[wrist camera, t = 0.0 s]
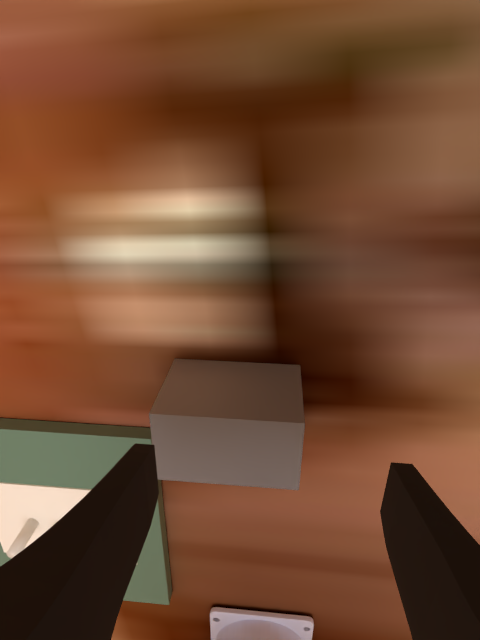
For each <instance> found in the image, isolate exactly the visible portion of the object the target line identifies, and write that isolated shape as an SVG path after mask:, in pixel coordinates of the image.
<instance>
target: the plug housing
mask: <svg viewBox="0 0 480 640" xmlns="http://www.w3.org/2000/svg"><path fill="white" fill-rule="evenodd" d="M149 419H150V428H151V437H152V445H154V446H155V457H156V467H157V477H158V480H171V481H184V482H197V483H210V484H224V485H237V486H250V487H263V488H276V489H289V490H299V483H300V472H301V461H302V450H303V439H304V428H305V419H304V406H303V394H302V382H301V369H300V365H290V364H271V363H251V362H232V361H212V360H193V359H174V361H173V363H172V365H171V368H170V370H169V372H168V374H167V376H166V378H165V380H164V383H163V385H162V387H161V389H160V391H159V393H158V395H157V398H156V400H155V402H154V404H153V406H152V408H151V410H150V412H149Z"/></svg>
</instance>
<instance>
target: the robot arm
mask: <svg viewBox="0 0 480 640" xmlns="http://www.w3.org/2000/svg"><path fill="white" fill-rule="evenodd" d="M158 495H159V487H158V477H157V467H156V457H155V446H154V445H150V444H137V443H135V444H134V445H133V446H132V447H131V448H130V449H129V450H128V451H127V452H126V453H125V455H124V456H123V457H122V458H121V459H120V460H119V461H118V462H117V463H116V464H115V466H114V467H113V468H112V469H111V470H110V471H109V472H108V473H107V474H106V475H105V476H104V477H103V478H102V479H101V480H100V481H99V482H98V483H97V484H96V485H95V486H94V487H93V488H92V490H91V491H90V492H89V493H88V494H87V495H86V496H85V497H84V498H82V499H81V500H80V501H79V502H78V503H77V504H76V505H75V506H74V507H73V508H72V509H71V510H70V511H69V512H68V513H66V514H65V515H64V516H63V517H62V518H61V519H60V520H59V521H58V522H57V523H55V524H54V525H53V526H52V527H51V528H50V529H48V530H47V531H46V532H45V533H44V534H42V535H41V536H40V537H39V538H37V539H36V540H35V541H34V542H33V543H31V544H30V545H29V546H27V547H26V548H25V549H24V550H22V551H21V552H20V553H18V554H17V555H16V556H14V557H13V558H12V559H10V560H9V561H7V562H6V563H5V564H3V565H2V566H0V640H111V637H112V634H113V630H114V626H115V623H116V619H117V616H118V613H119V610H120V607H121V604H122V601H123V599H124V596H125V593H126V591H127V588H128V585H129V583H130V580H131V577H132V575H133V572H134V570H135V567H136V564H137V562H138V559H139V556H140V554H141V551H142V548H143V546H144V543H145V540H146V537H147V535H148V532H149V529H150V527H151V523H152V519H153V515H154V512H155V508H156V503H157V499H158ZM380 513H381V519H382V526H383V532H384V537H385V543H386V548H387V551H388V555H389V559H390V562H391V566H392V569H393V573H394V576H395V580H396V583H397V586H398V590H399V593H400V597H401V600H402V603H403V607H404V610H405V614H406V617H407V621H408V624H409V627H410V631H411V635H412V639H413V640H480V545H479V544H478V543H477V542H476V541H475V539H474V538H473V537H472V536H471V535H470V534H469V533H468V532H467V530H466V529H465V528H464V527H463V526H462V525H461V523H460V522H459V521H458V520H457V519H456V518H455V516H454V515H453V514H452V513H451V512H450V510H449V509H448V508H447V507H446V506H445V504H444V503H443V502H442V501H441V499H440V498H439V497H438V496H437V495H436V493H435V492H434V491H433V489H432V488H431V487H430V486H429V484H428V483H427V482H426V481H425V479H424V478H423V477H422V476H421V474H420V473H419V472H418V470H417V469H416V468H415V467H414V466H413V464H404V463H391V465H390V470H389V474H388V479H387V483H386V488H385V492H384V497H383V501H382V506H381V510H380ZM313 627H314V621H313V619H312V618H311V617H309V616H301V615H291V614H281V613H271V612H261V611H251V610H242V609H232V608H222V607H213V608H212V609H211V610H210V631H211V640H312V635H313Z"/></svg>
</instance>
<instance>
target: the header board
mask: <svg viewBox="0 0 480 640" xmlns="http://www.w3.org/2000/svg"><path fill="white" fill-rule="evenodd" d="M135 443H137V444H150V445H152V437H151V428H145V427H130V426H114V425H99V424H84V423H69V422H54V421H39V420H23V419H8V418H0V566H2V565H3V564H5V563H6V562H7V561H9V560H10V559H12V558H13V557H14V556H16V555H17V554H18V553H20V552H21V551H22V550H24V549H25V548H26V547H27V546H29V545H30V544H31V543H33V542H34V541H35V540H36V539H37V538H39V537H40V536H41V535H42V534H44V533H45V532H46V531H47V530H48V529H50V528H51V527H52V526H53V525H54V524H55V523H57V522H58V521H59V520H60V519H61V518H62V517H63V516H64V515H65V514H66V513H68V512H69V511H70V510H71V509H72V508H73V507H74V506H75V505H76V504H77V503H78V502H79V501H80V500H81V499H82V498H84V497H85V496H86V495H87V494H88V493H89V492H90V491H91V490H92V488H93V487H94V486H95V485H96V484H97V483H98V482H99V481H100V480H101V479H102V478H103V477H104V476H105V475H106V474H107V473H108V472H109V471H110V470H111V469H112V468H113V467H114V466H115V464H116V463H117V462H118V461H119V460H120V459H121V458H122V457H123V456H124V455H125V453H126V452H127V451H128V450H129V449H130V448H131V447H132V446H133V445H134V444H135ZM158 487H159V495H158V499H157V503H156V508H155V512H154V515H153V519H152V523H151V527H150V529H149V532H148V535H147V537H146V540H145V543H144V546H143V548H142V551H141V554H140V556H139V559H138V562H137V564H136V567H135V570H134V572H133V575H132V577H131V580H130V583H129V585H128V588H127V591H126V593H125V596H124V599H123V600H125V601H135V602H144V603H154V604H164V605H169V604H170V599H171V595H172V583H171V573H170V564H169V554H168V544H167V534H166V525H165V515H164V505H163V495H162V486H161V480H158Z"/></svg>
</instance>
